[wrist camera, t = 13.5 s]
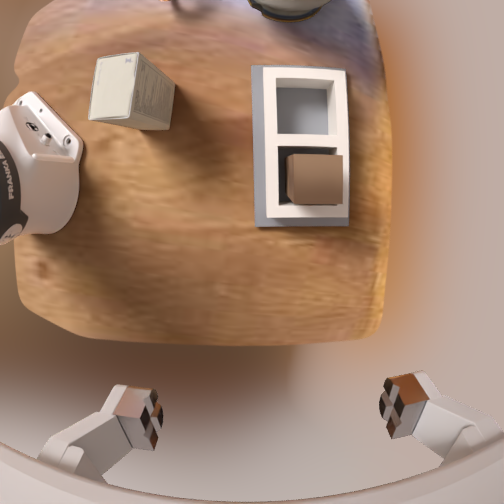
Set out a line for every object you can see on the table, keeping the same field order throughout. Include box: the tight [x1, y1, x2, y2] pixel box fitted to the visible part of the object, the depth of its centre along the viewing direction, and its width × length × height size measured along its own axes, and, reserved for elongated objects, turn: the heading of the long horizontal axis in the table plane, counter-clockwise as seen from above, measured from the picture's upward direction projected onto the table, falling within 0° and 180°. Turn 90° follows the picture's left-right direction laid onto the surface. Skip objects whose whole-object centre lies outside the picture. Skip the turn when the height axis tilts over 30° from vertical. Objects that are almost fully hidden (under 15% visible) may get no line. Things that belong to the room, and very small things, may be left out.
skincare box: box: [88, 52, 175, 130], centre depth 26 cm, size 6×4×12 cm
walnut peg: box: [285, 154, 343, 204], centre depth 28 cm, size 4×4×10 cm
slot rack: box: [251, 65, 350, 227], centre depth 30 cm, size 19×11×5 cm, turn 1°
